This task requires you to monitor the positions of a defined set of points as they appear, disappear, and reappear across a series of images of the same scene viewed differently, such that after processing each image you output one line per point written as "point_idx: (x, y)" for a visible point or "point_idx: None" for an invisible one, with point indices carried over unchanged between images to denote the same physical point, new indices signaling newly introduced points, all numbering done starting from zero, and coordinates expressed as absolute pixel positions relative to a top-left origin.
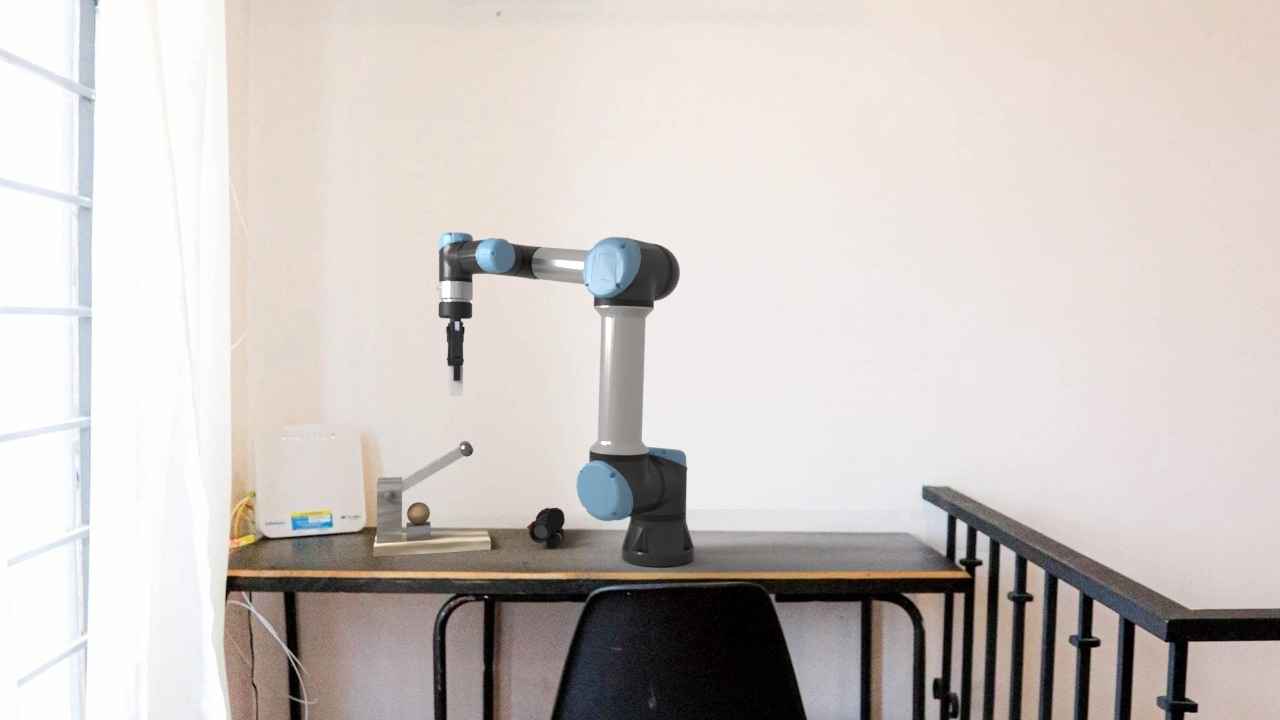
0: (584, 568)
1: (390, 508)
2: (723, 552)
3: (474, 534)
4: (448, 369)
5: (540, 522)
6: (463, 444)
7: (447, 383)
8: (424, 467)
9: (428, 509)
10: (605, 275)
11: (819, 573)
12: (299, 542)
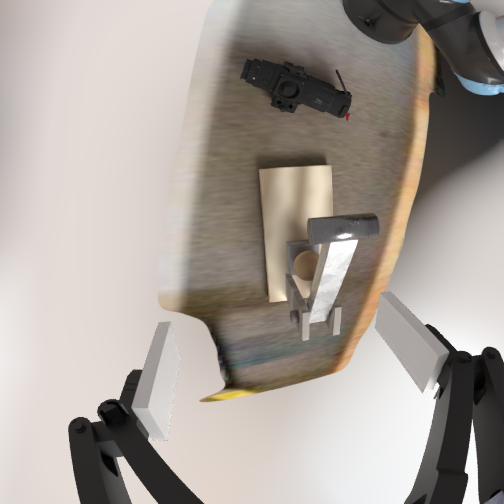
0: (407, 86)
1: None
2: None
3: (293, 185)
4: (167, 420)
5: (347, 102)
6: (363, 236)
7: (176, 378)
8: (326, 288)
9: (315, 255)
10: None
11: None
12: (250, 361)
